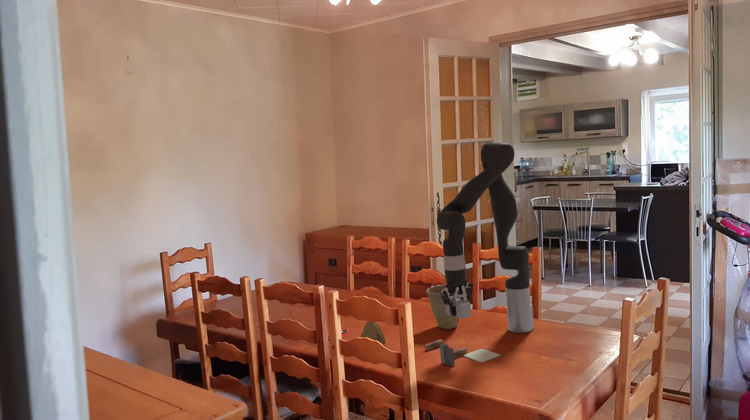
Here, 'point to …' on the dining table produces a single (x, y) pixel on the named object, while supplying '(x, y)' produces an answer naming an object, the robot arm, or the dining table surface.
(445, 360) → the grey stepped block
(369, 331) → the rock
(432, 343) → the clamp rails
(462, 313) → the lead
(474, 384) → the dining table surface
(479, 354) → the mat
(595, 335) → the dining table surface
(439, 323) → the plant pot
